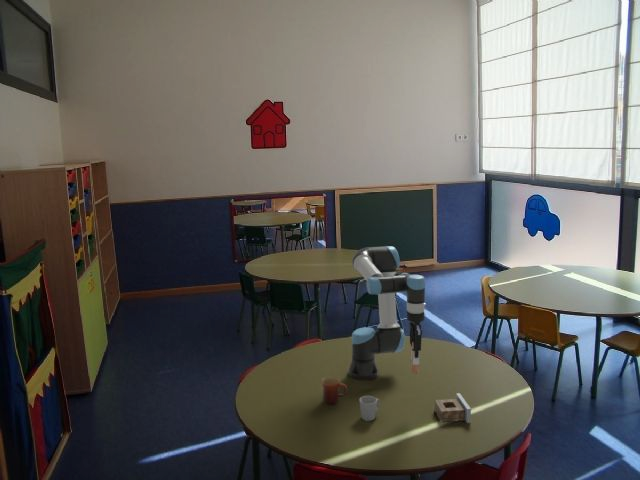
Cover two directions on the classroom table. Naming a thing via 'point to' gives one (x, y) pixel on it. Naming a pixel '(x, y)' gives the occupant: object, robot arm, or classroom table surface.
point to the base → (465, 406)
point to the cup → (368, 407)
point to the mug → (332, 390)
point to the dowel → (415, 367)
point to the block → (449, 410)
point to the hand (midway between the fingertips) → (415, 362)
